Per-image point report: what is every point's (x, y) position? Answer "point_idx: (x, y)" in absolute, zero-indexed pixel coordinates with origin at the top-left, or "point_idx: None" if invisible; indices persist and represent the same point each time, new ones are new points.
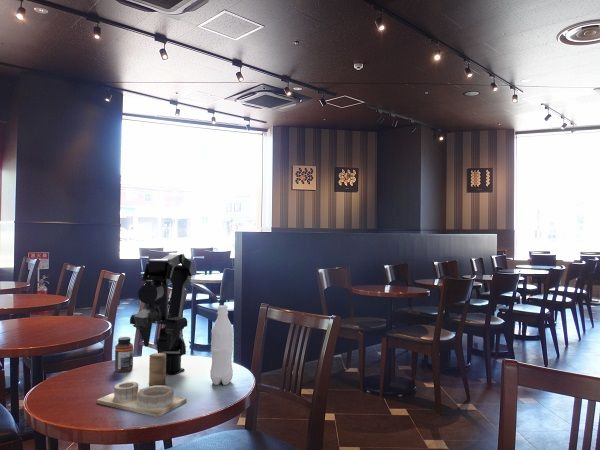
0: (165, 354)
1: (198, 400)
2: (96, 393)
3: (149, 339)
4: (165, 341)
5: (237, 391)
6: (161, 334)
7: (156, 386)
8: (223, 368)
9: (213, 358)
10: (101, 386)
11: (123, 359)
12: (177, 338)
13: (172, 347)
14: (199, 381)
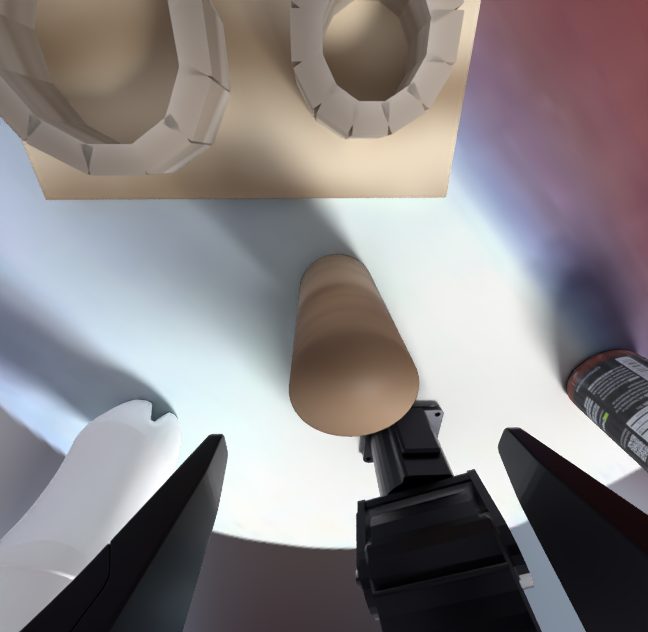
0: (313, 423)
1: (36, 240)
2: (587, 56)
3: (529, 520)
4: (452, 560)
5: (19, 385)
6: (515, 620)
7: (166, 130)
8: (63, 466)
9: (84, 504)
10: (610, 169)
11: (644, 394)
12: (376, 607)
13: (394, 528)
14: (229, 403)
